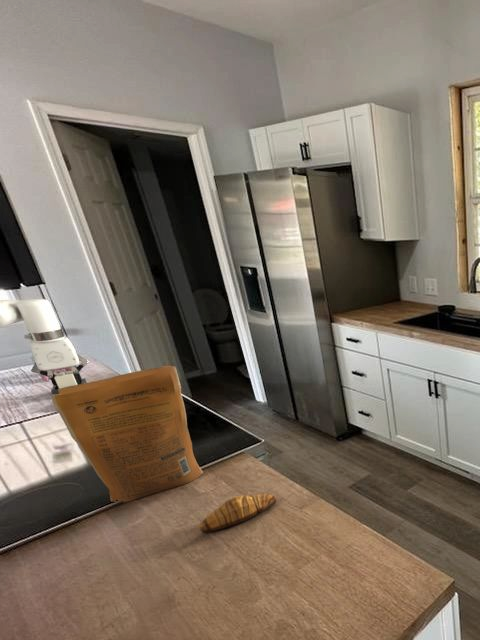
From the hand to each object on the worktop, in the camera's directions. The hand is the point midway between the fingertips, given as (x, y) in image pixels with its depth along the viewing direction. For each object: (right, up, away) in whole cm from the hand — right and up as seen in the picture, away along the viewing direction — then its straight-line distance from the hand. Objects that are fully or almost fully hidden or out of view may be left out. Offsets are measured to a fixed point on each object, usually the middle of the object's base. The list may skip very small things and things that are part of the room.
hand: (68, 384), depth 148 cm
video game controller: (-20, +3, +16) cm, 26 cm away
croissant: (+104, -27, -64) cm, 125 cm away
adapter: (0, -3, +1) cm, 3 cm away
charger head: (0, -1, 0) cm, 1 cm away
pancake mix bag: (+80, -24, -54) cm, 99 cm away
